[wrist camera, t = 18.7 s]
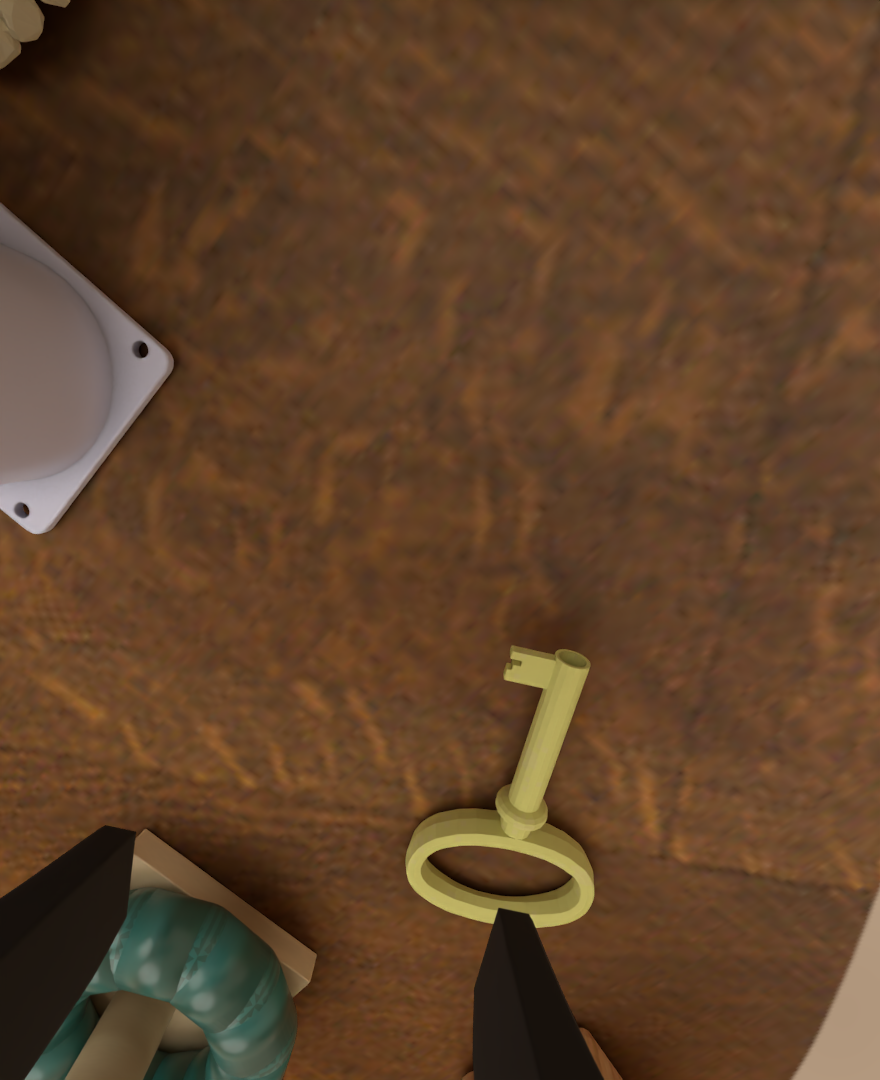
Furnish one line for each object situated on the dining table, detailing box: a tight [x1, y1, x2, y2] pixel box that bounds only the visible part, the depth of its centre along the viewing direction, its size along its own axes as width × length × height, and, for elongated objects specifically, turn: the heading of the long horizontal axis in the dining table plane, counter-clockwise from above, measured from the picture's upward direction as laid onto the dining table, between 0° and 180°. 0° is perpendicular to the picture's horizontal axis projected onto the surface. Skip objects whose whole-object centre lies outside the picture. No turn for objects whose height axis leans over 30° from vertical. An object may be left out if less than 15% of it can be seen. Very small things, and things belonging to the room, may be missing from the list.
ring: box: [25, 887, 298, 1080], centre depth 21 cm, size 11×11×3 cm
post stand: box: [65, 829, 317, 1080], centre depth 20 cm, size 9×9×7 cm
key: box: [405, 645, 594, 928], centre depth 20 cm, size 7×12×2 cm, turn 6°
